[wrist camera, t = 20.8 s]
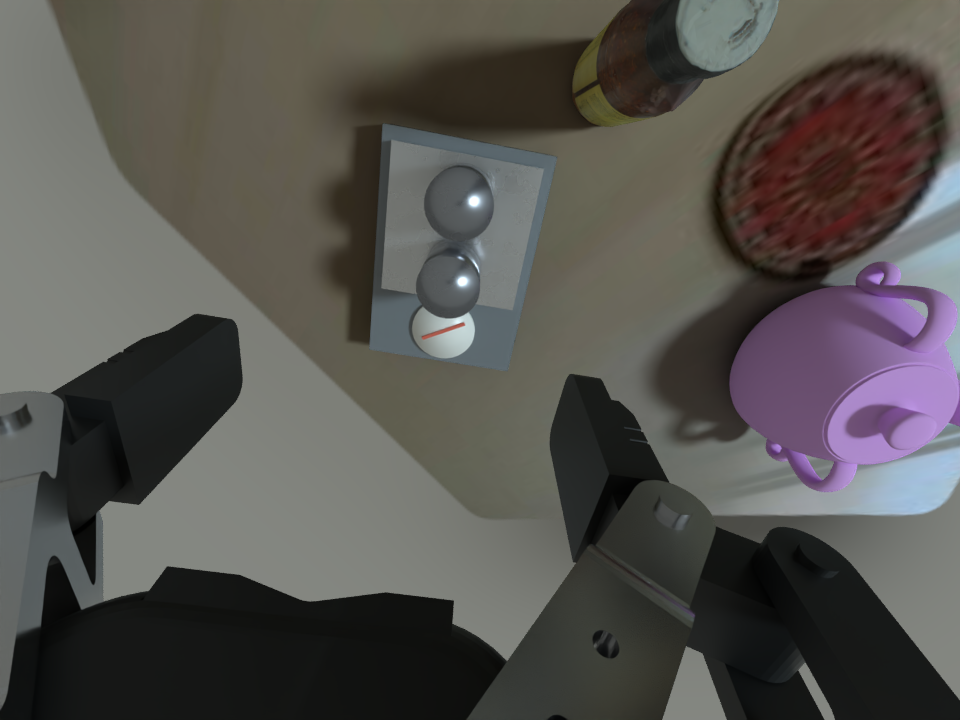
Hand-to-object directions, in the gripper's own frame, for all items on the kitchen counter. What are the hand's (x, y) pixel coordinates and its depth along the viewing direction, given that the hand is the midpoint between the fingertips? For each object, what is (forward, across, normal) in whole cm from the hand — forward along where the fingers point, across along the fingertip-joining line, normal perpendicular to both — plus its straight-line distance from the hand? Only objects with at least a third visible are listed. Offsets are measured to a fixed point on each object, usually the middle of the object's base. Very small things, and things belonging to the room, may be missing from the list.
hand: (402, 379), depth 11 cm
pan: (+29, 0, +2) cm, 29 cm away
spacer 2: (+28, 0, +5) cm, 28 cm away
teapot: (+32, -40, +9) cm, 52 cm away
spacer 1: (+28, 0, -1) cm, 28 cm away
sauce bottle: (+32, -10, -11) cm, 36 cm away
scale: (+32, 0, +5) cm, 32 cm away
